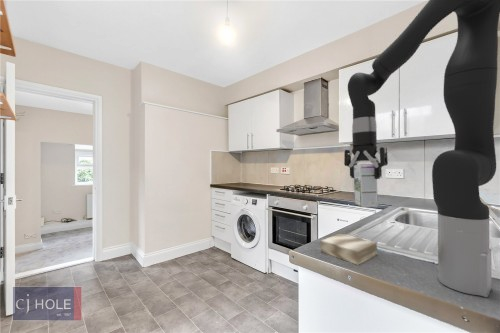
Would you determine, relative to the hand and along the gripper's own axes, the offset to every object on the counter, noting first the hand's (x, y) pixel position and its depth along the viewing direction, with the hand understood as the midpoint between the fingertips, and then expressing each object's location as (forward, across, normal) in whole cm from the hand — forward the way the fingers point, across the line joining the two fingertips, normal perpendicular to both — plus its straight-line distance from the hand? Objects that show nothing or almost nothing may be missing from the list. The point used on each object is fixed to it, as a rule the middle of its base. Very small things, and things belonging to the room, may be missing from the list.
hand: (364, 178), depth 79 cm
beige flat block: (+25, +2, +8) cm, 26 cm away
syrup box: (+10, 0, 0) cm, 10 cm away
